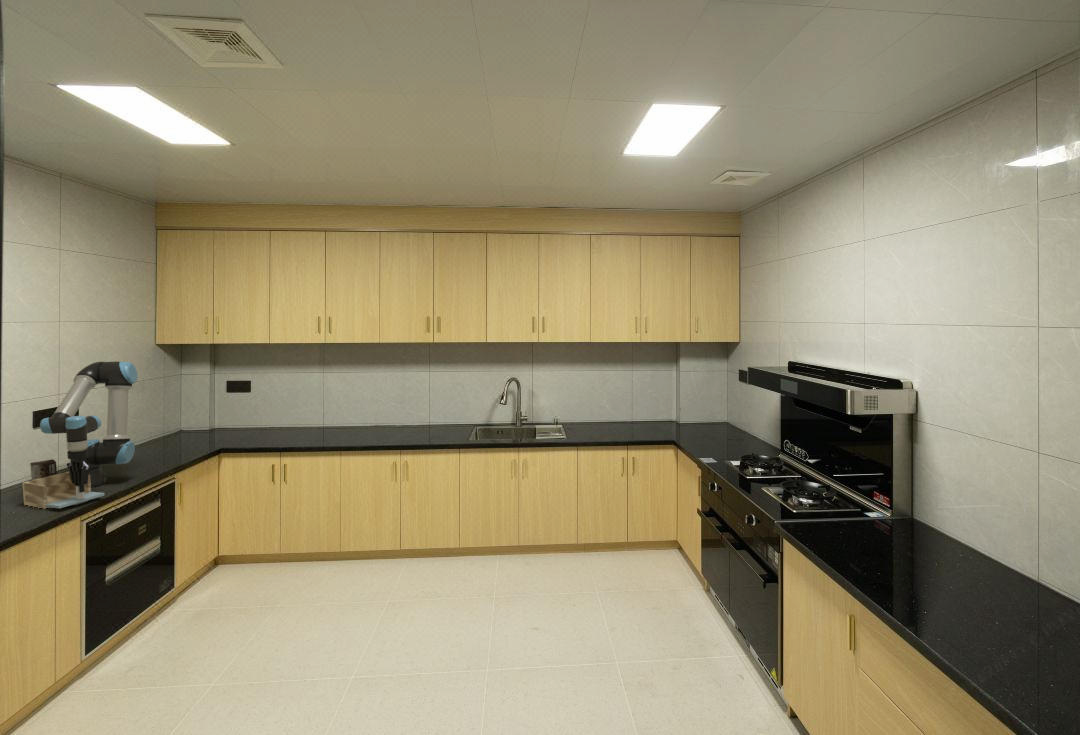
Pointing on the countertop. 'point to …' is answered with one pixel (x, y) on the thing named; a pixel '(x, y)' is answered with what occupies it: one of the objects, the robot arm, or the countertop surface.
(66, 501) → the panel
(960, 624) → the countertop surface
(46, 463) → the coffee box
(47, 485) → the crate
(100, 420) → the robot arm
